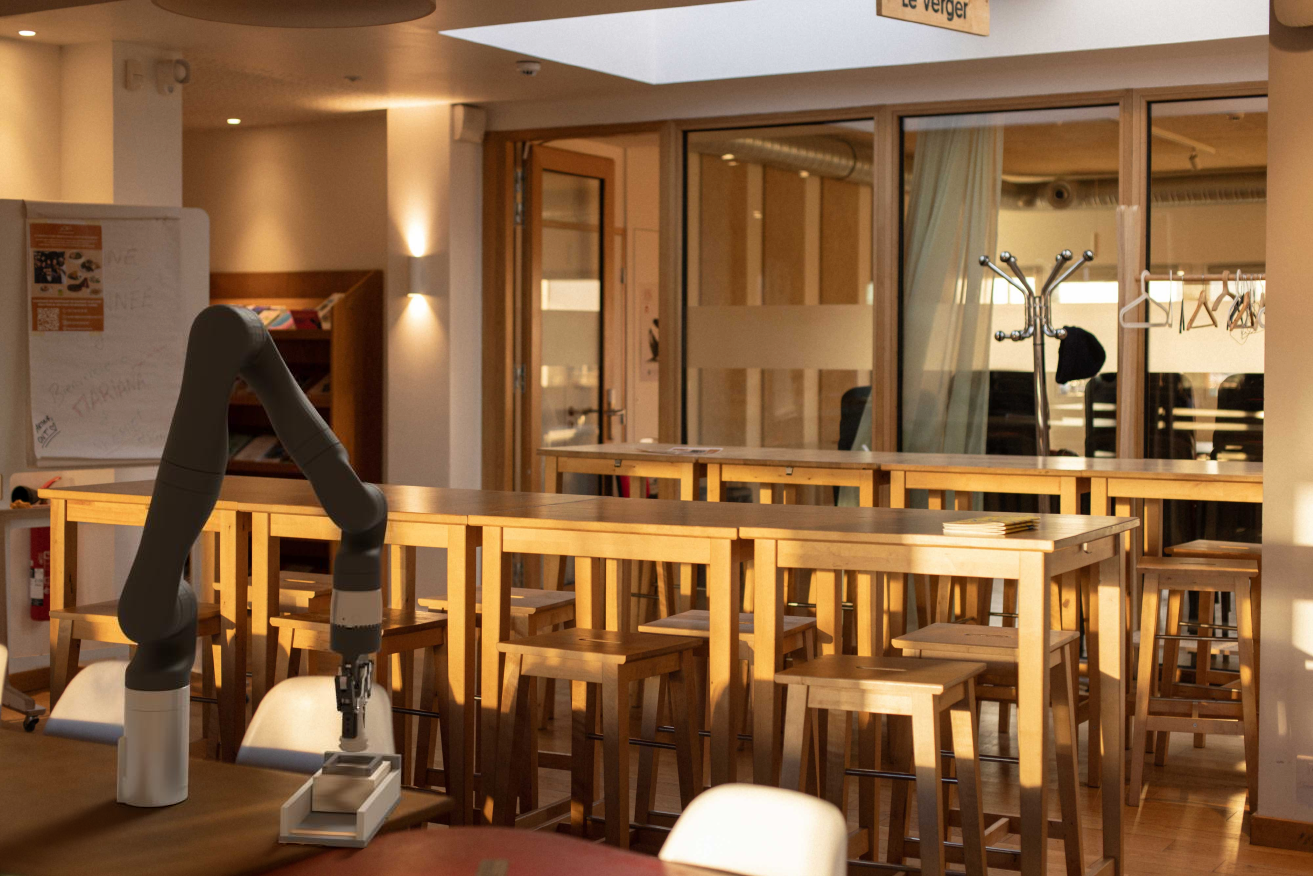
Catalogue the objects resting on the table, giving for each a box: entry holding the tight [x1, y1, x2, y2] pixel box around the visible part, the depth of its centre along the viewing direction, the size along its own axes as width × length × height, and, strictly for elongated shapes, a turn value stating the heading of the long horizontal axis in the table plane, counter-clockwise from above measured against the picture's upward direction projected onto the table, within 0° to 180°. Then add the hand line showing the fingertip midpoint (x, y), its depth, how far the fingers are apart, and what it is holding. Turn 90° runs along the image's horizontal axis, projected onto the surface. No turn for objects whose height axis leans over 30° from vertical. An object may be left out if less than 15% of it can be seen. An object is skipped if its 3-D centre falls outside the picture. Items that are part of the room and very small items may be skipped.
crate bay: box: [278, 750, 402, 849], centre depth 207 cm, size 12×22×7 cm, turn 177°
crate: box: [312, 753, 391, 813], centre depth 212 cm, size 9×10×6 cm
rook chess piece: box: [338, 695, 370, 753], centre depth 212 cm, size 4×4×8 cm
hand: (353, 733), depth 212 cm, fingers closed on rook chess piece, 3 cm apart
